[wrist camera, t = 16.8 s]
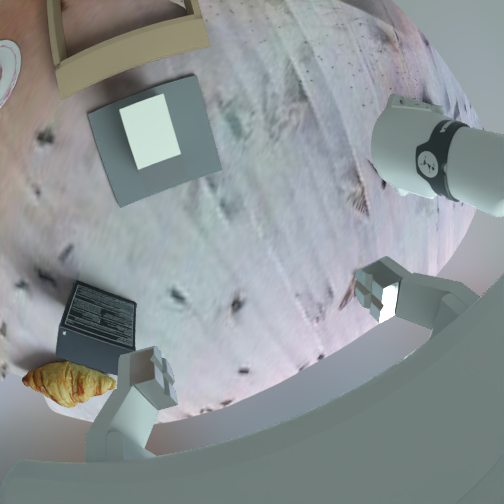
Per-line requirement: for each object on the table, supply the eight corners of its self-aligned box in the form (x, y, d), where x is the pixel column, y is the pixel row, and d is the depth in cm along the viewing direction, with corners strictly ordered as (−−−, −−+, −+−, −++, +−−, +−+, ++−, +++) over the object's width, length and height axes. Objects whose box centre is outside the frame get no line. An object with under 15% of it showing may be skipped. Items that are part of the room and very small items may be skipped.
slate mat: (195, 75, 28) (196, 74, 27) (221, 169, 34) (222, 169, 34) (88, 114, 25) (87, 114, 25) (120, 206, 32) (120, 207, 32)
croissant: (113, 354, 45) (107, 365, 37) (123, 400, 44) (120, 417, 36) (24, 354, 37) (8, 363, 30) (36, 399, 36) (23, 412, 29)
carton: (173, -59, 15) (176, -73, 12) (204, 54, 27) (210, 45, 23) (54, -19, 12) (46, -30, 9) (71, 102, 24) (61, 99, 20)
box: (163, 100, 28) (163, 93, 22) (182, 167, 32) (188, 177, 26) (127, 113, 27) (119, 109, 21) (149, 180, 31) (146, 192, 25)
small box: (67, 310, 35) (53, 357, 26) (75, 278, 34) (57, 324, 25) (126, 331, 40) (124, 380, 31) (138, 302, 39) (137, 351, 30)
